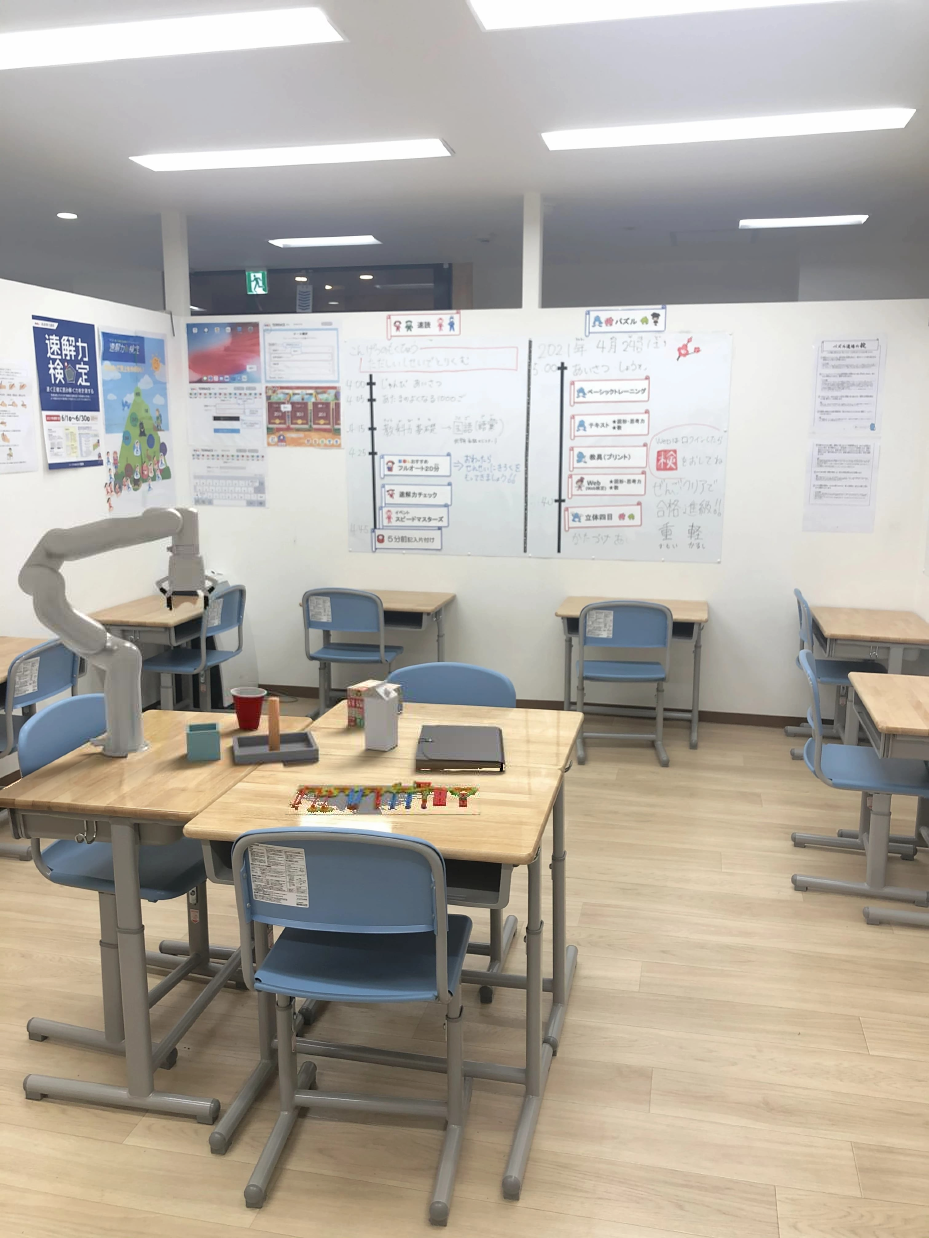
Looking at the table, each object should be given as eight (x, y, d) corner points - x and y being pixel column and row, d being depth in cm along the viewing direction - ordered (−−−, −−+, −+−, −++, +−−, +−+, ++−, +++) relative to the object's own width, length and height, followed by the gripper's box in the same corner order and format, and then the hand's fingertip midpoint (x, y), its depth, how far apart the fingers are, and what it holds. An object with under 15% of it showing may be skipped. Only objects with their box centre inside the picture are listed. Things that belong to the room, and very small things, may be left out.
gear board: (478, 778, 231) (480, 807, 212) (478, 788, 232) (480, 817, 213) (299, 778, 231) (285, 806, 212) (299, 787, 231) (285, 816, 212)
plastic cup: (263, 733, 277) (262, 694, 275) (227, 733, 277) (226, 694, 275) (271, 723, 288) (270, 686, 286) (237, 723, 288) (235, 685, 286)
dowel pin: (269, 753, 254) (268, 700, 252) (268, 750, 257) (267, 697, 255) (280, 752, 255) (279, 699, 253) (279, 749, 258) (278, 697, 256)
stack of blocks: (387, 710, 305) (387, 673, 303) (403, 712, 302) (402, 676, 300) (347, 725, 287) (346, 686, 285) (363, 728, 283) (362, 689, 281)
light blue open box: (187, 765, 247) (186, 733, 245) (187, 755, 255) (186, 724, 253) (220, 762, 249) (219, 730, 248) (219, 753, 257) (218, 722, 256)
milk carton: (364, 749, 262) (363, 684, 259) (376, 742, 268) (375, 678, 265) (387, 752, 259) (386, 686, 256) (398, 745, 266) (397, 680, 263)
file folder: (421, 723, 275) (502, 725, 275) (421, 736, 276) (501, 738, 276) (414, 757, 243) (505, 760, 242) (413, 772, 243) (505, 775, 243)
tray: (235, 768, 245) (235, 755, 244) (232, 748, 262) (232, 736, 261) (318, 761, 251) (318, 748, 250) (310, 742, 268) (310, 730, 267)
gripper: (153, 552, 259) (156, 612, 261) (217, 551, 263) (219, 610, 266) (155, 550, 266) (157, 608, 269) (216, 549, 270) (218, 607, 273)
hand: (188, 609), depth 267 cm, fingers open, 9 cm apart
